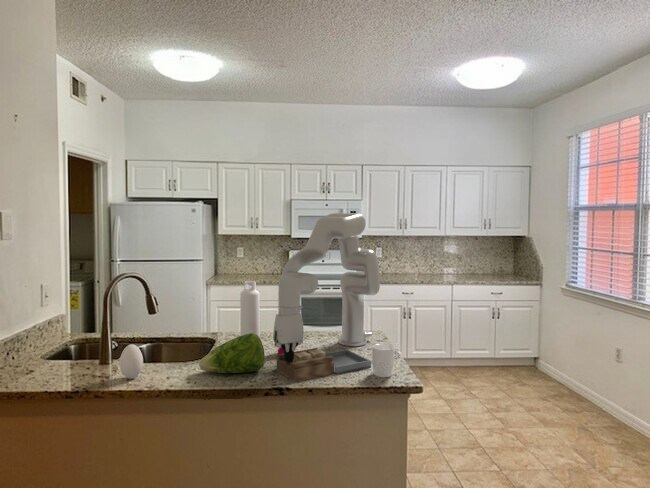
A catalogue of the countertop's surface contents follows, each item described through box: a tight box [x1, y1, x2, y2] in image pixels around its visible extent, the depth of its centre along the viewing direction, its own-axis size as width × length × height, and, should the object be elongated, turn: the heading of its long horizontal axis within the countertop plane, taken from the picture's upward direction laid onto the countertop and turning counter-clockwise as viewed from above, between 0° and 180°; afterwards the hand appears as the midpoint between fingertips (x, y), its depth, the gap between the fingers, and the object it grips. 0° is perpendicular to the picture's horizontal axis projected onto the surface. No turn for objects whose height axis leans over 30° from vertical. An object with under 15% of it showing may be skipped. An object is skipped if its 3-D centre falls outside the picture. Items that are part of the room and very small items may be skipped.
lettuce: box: [198, 333, 266, 374], centre depth 162 cm, size 14×23×13 cm, turn 98°
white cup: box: [371, 343, 395, 378], centre depth 161 cm, size 8×8×10 cm
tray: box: [325, 349, 372, 375], centre depth 172 cm, size 15×16×2 cm
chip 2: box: [309, 348, 326, 359], centre depth 166 cm, size 4×4×2 cm
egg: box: [119, 343, 144, 380], centre depth 154 cm, size 7×7×12 cm
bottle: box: [239, 280, 261, 339], centre depth 192 cm, size 8×8×28 cm
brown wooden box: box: [276, 347, 335, 383], centre depth 163 cm, size 16×14×6 cm
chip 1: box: [294, 352, 311, 362], centre depth 163 cm, size 4×4×2 cm
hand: (288, 361), depth 160 cm, fingers closed
